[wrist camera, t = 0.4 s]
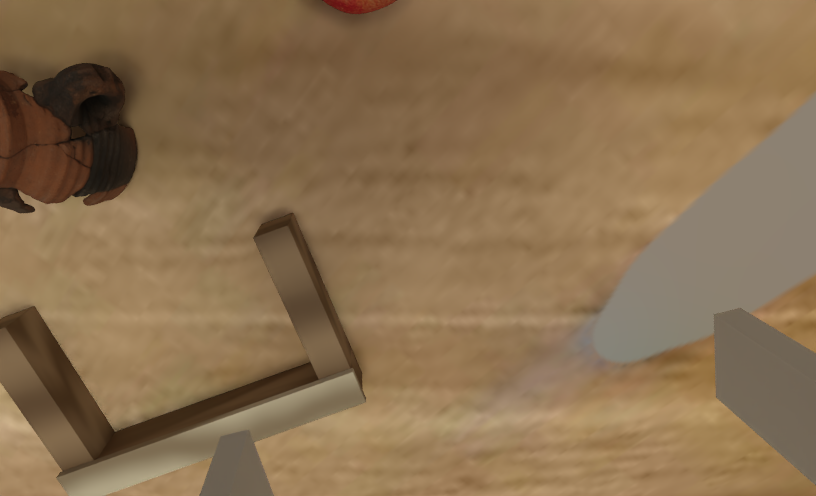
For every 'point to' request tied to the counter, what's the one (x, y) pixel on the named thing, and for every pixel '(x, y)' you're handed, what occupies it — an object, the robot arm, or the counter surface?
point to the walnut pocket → (196, 424)
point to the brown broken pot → (64, 138)
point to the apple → (358, 5)
